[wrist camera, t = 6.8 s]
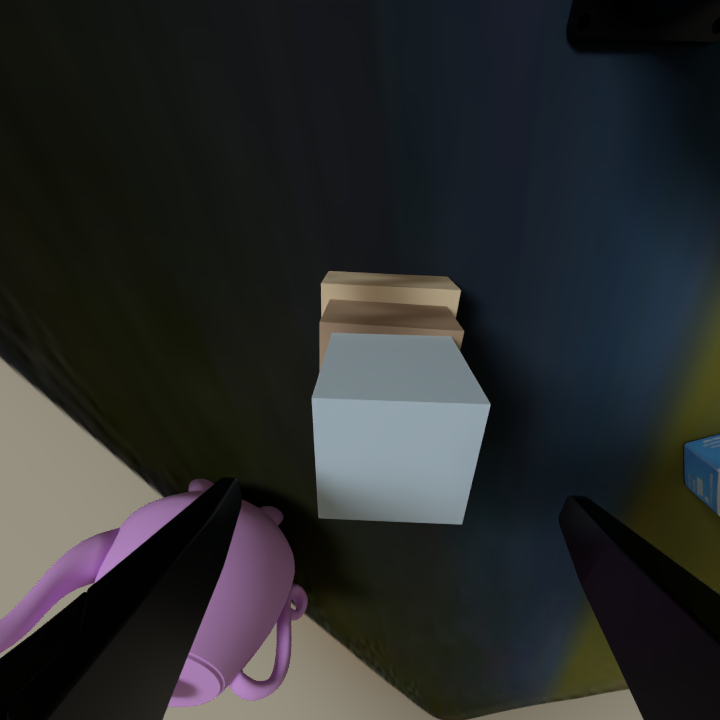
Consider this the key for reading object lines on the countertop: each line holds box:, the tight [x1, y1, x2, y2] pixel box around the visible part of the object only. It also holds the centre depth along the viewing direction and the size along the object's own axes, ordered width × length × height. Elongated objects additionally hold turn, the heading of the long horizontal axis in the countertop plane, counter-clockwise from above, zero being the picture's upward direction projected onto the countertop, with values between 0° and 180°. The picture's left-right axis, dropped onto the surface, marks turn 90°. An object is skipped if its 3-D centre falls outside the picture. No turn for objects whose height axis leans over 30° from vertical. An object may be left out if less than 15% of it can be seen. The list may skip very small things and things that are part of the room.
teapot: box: [0, 479, 308, 720], centre depth 23 cm, size 20×14×12 cm
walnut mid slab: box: [320, 299, 464, 370], centre depth 16 cm, size 6×6×4 cm
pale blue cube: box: [312, 333, 491, 524], centre depth 12 cm, size 5×5×5 cm
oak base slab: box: [321, 271, 461, 319], centre depth 19 cm, size 7×7×4 cm
